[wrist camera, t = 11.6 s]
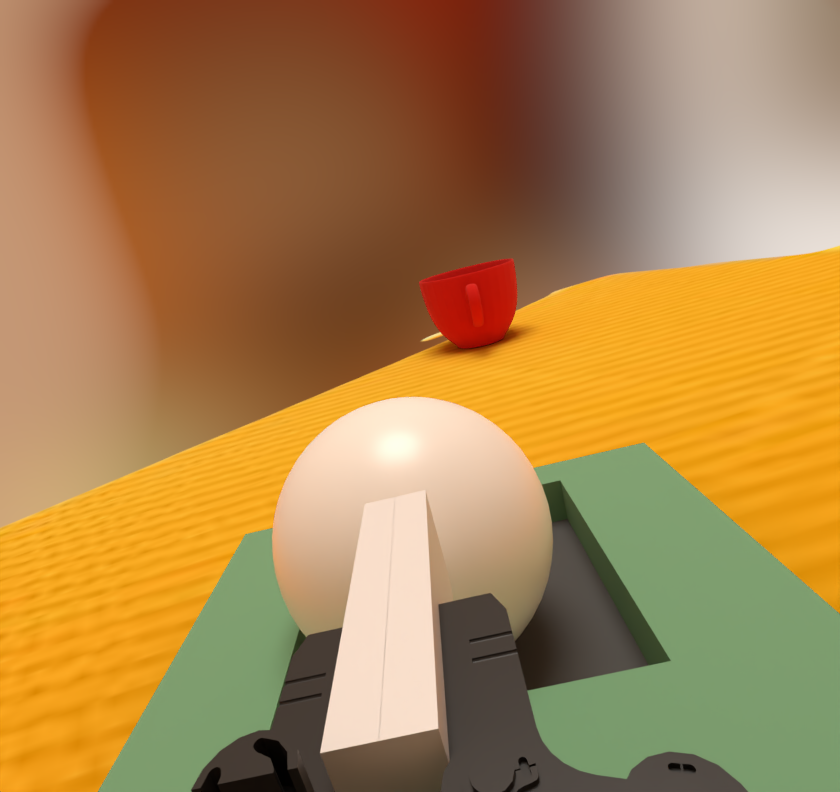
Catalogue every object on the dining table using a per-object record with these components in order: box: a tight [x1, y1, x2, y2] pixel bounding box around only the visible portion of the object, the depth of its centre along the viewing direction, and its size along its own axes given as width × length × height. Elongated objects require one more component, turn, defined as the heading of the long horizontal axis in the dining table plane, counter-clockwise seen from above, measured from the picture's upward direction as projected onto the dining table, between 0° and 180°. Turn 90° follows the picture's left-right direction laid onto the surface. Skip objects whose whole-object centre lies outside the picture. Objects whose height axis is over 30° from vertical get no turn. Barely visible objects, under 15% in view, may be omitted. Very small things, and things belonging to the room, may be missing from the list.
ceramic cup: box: [419, 259, 517, 349], centre depth 72 cm, size 13×17×10 cm
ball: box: [272, 397, 553, 641], centre depth 20 cm, size 10×10×10 cm
